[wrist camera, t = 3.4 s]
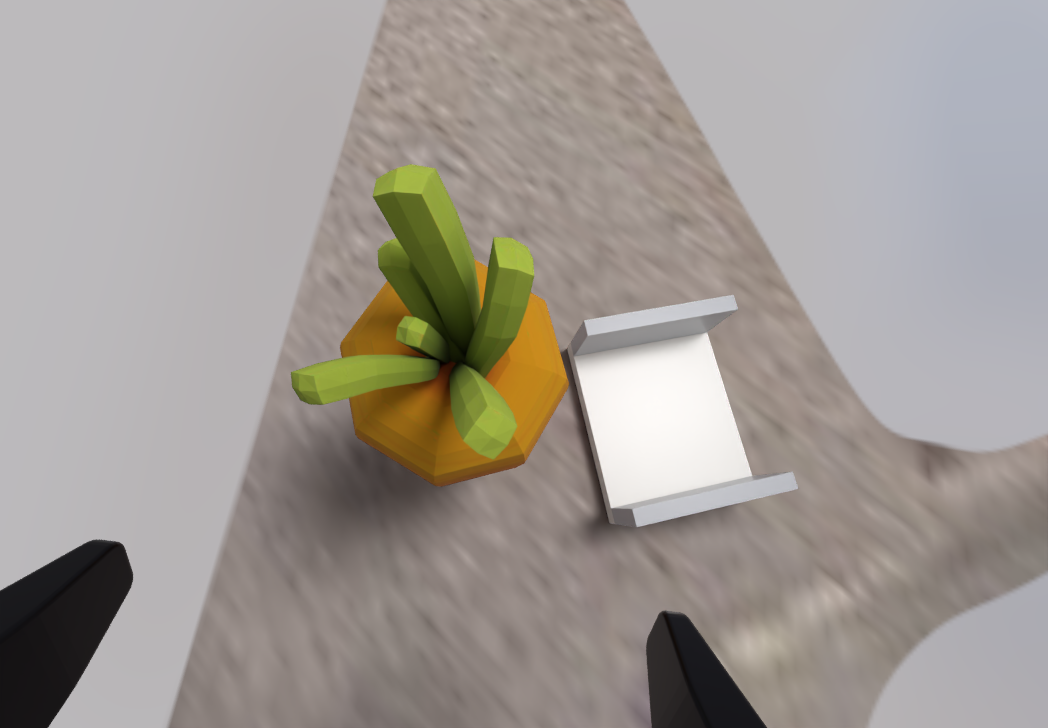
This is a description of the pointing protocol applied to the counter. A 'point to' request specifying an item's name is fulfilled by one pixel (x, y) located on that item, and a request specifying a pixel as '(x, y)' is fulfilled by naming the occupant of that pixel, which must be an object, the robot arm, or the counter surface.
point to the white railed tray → (662, 415)
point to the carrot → (444, 345)
